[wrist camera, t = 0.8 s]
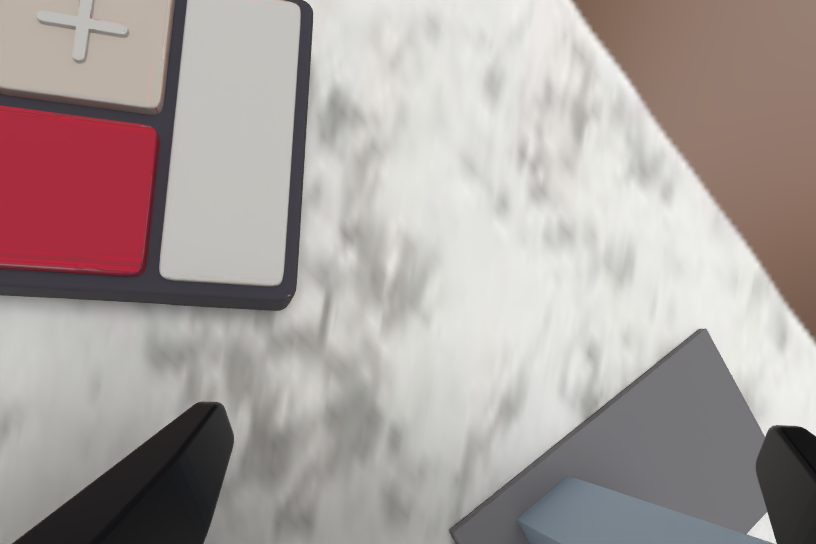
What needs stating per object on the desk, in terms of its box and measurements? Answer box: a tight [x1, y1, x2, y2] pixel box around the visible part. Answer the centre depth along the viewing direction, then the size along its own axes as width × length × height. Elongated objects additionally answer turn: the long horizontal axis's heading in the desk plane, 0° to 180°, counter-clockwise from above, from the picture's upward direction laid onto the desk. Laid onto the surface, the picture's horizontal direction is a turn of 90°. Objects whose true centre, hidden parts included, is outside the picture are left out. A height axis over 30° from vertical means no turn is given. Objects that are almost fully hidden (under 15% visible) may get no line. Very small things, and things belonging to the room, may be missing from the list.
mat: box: [449, 329, 767, 544], centre depth 24 cm, size 16×9×1 cm, turn 121°
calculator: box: [0, 0, 313, 310], centre depth 18 cm, size 11×4×15 cm
